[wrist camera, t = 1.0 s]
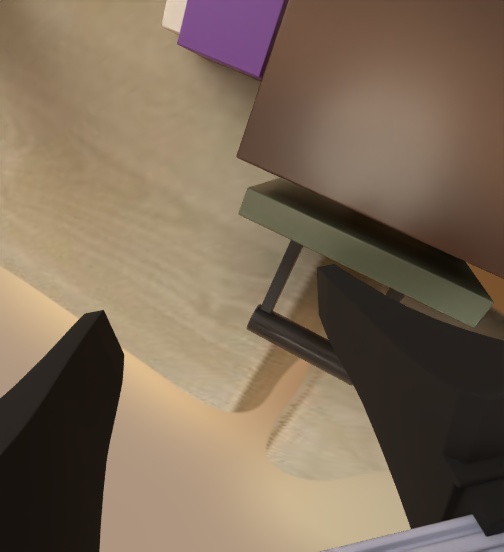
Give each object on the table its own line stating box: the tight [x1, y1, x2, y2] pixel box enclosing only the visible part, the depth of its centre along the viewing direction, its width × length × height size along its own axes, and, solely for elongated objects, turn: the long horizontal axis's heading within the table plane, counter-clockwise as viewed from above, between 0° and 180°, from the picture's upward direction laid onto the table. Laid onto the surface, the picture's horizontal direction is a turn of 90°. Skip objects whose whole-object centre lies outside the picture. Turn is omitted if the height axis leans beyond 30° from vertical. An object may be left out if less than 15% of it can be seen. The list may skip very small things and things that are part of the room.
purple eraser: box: [162, 0, 289, 81], centre depth 18 cm, size 6×3×3 cm, turn 68°
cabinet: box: [237, 0, 504, 279], centre depth 13 cm, size 13×11×8 cm
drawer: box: [239, 178, 494, 385], centre depth 16 cm, size 19×10×7 cm, turn 158°
